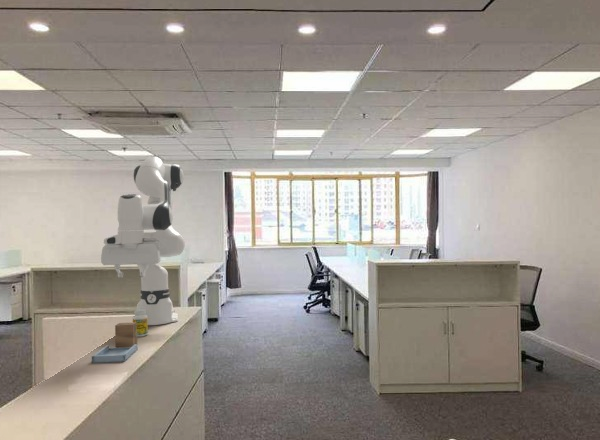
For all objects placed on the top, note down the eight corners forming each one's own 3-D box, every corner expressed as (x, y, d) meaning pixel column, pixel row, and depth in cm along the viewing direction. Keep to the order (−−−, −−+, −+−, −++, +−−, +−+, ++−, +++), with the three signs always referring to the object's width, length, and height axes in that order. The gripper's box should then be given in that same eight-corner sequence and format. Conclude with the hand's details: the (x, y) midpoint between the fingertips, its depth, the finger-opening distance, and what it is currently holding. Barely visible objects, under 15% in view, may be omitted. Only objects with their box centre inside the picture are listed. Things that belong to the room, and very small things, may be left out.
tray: (107, 350, 152) (107, 344, 152) (137, 349, 153) (137, 343, 153) (91, 363, 139) (91, 356, 139) (125, 361, 139) (124, 355, 139)
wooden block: (119, 345, 158) (119, 322, 158) (136, 345, 159) (136, 322, 159) (115, 349, 154) (115, 325, 154) (133, 348, 155) (133, 324, 155)
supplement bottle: (145, 332, 177) (145, 308, 177) (149, 335, 173) (149, 310, 173) (131, 334, 174) (131, 309, 174) (134, 337, 170) (134, 311, 170)
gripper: (162, 238, 168) (162, 275, 168) (105, 239, 166) (106, 276, 166) (158, 238, 162) (158, 277, 161) (99, 239, 160) (99, 278, 160)
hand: (131, 277), depth 164 cm, fingers open, 6 cm apart
